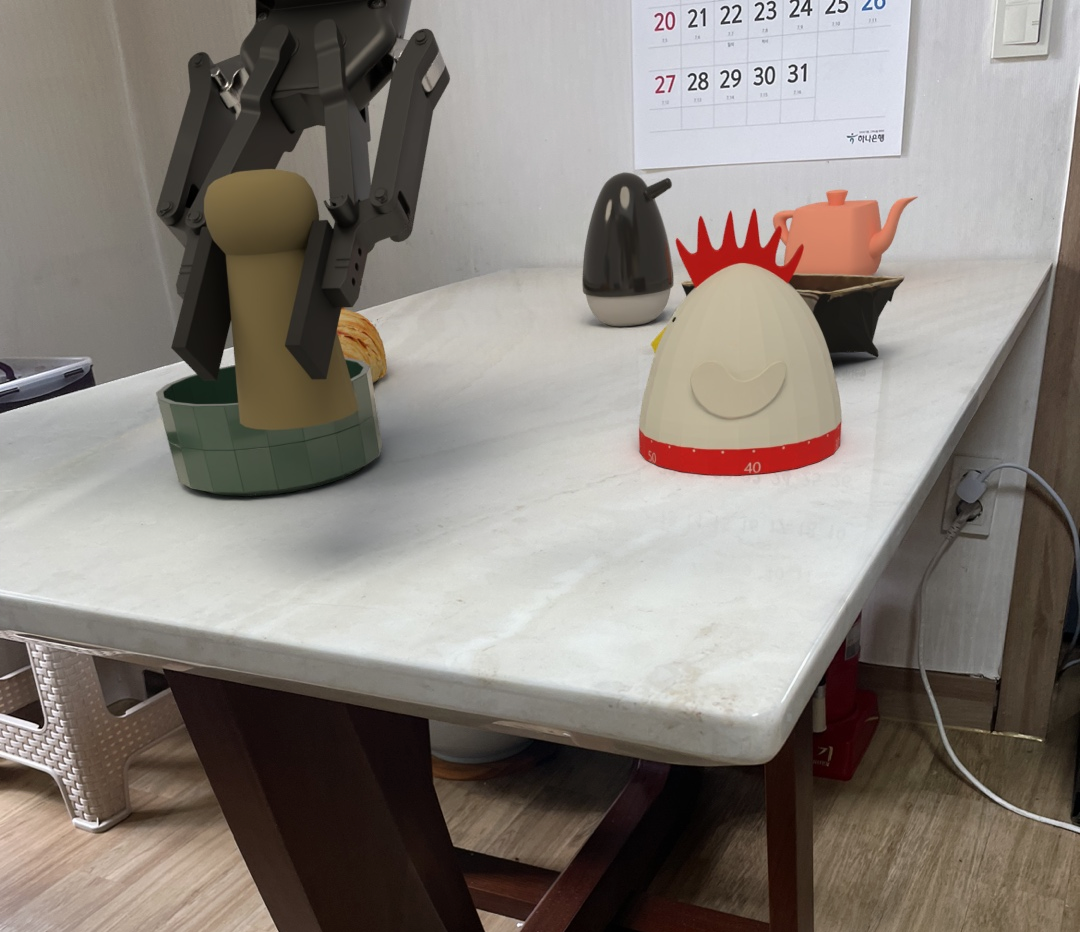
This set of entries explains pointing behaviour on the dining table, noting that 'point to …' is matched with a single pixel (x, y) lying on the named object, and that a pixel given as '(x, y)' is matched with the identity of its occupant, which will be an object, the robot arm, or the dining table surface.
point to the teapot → (839, 234)
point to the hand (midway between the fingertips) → (249, 362)
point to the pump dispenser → (627, 253)
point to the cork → (272, 299)
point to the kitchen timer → (740, 367)
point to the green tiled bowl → (262, 439)
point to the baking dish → (843, 306)
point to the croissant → (362, 342)
